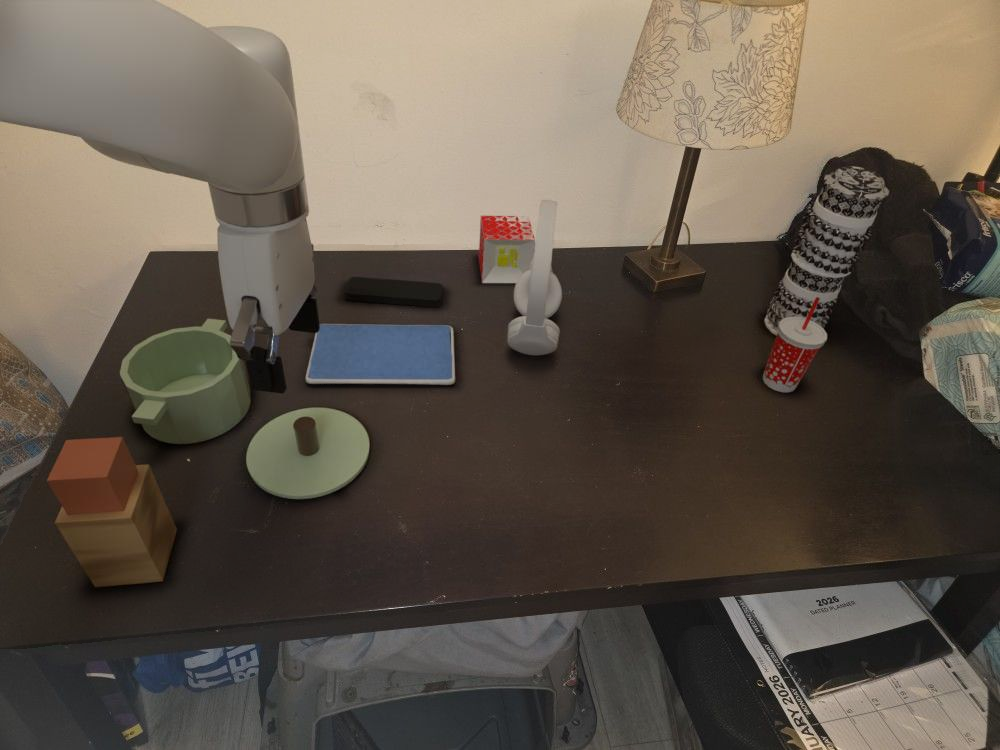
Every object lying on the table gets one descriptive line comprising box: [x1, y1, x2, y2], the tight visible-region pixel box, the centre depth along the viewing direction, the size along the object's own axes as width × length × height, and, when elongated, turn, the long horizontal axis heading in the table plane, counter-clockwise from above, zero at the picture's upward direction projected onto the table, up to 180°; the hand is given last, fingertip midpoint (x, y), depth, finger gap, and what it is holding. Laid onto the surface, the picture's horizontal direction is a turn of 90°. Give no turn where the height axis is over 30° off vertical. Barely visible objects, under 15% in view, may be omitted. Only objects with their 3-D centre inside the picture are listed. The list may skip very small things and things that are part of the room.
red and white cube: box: [478, 215, 536, 284], centre depth 106 cm, size 8×8×8 cm
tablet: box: [305, 323, 456, 386], centre depth 88 cm, size 19×13×1 cm, turn 94°
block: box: [46, 436, 138, 515], centre depth 55 cm, size 4×4×4 cm
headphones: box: [506, 199, 563, 356], centre depth 88 cm, size 7×18×20 cm, turn 174°
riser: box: [54, 464, 178, 588], centre depth 60 cm, size 6×6×10 cm
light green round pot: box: [119, 318, 252, 445], centre depth 77 cm, size 13×18×8 cm
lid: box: [245, 407, 371, 500], centre depth 73 cm, size 14×14×5 cm
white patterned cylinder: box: [763, 165, 890, 336], centre depth 93 cm, size 9×9×25 cm
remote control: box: [343, 276, 445, 308], centre depth 100 cm, size 5×2×15 cm
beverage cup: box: [762, 297, 828, 393], centre depth 86 cm, size 6×6×14 cm
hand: (288, 358), depth 65 cm, fingers open, 9 cm apart
